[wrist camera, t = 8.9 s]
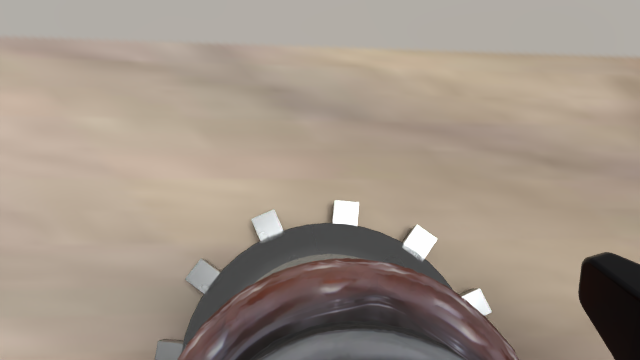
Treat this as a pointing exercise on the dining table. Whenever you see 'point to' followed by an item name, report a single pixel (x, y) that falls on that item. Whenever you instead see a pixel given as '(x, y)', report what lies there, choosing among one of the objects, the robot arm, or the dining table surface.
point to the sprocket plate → (305, 261)
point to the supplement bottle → (347, 318)
